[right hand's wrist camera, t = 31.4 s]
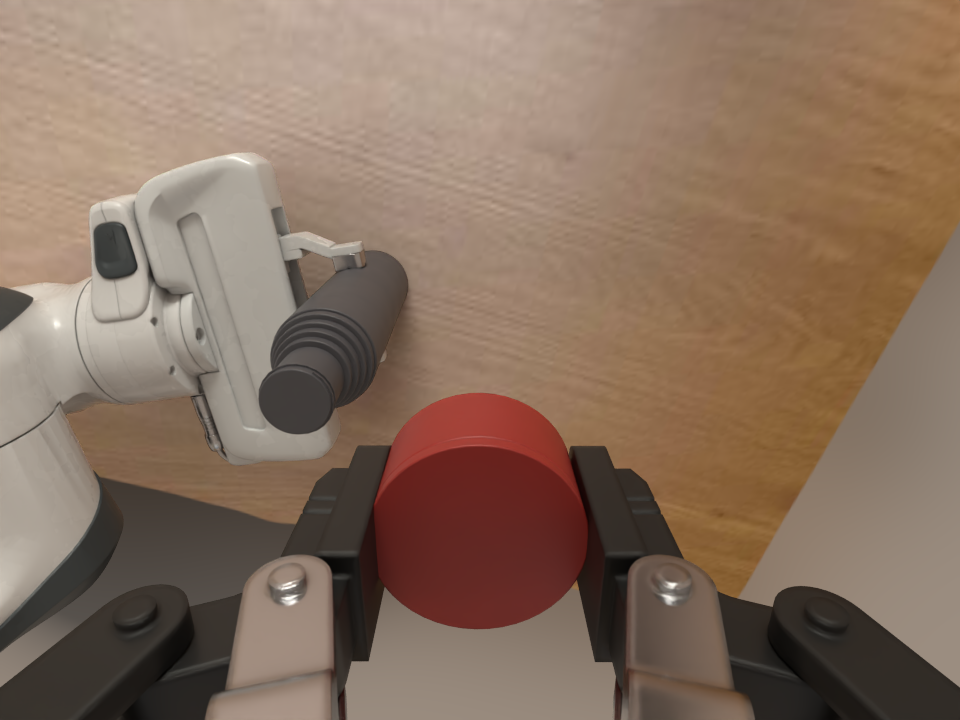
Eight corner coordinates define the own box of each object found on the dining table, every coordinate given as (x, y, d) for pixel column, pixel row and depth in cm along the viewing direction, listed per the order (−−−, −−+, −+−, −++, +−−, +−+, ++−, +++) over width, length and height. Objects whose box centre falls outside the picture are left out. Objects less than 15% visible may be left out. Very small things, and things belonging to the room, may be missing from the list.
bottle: (381, 328, 44) (310, 480, 23) (328, 287, 43) (204, 409, 22) (421, 280, 43) (384, 395, 22) (368, 236, 42) (277, 316, 21)
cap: (605, 494, 12) (631, 564, 10) (460, 580, 13) (456, 661, 11) (500, 355, 11) (505, 401, 9) (348, 458, 12) (320, 523, 10)
